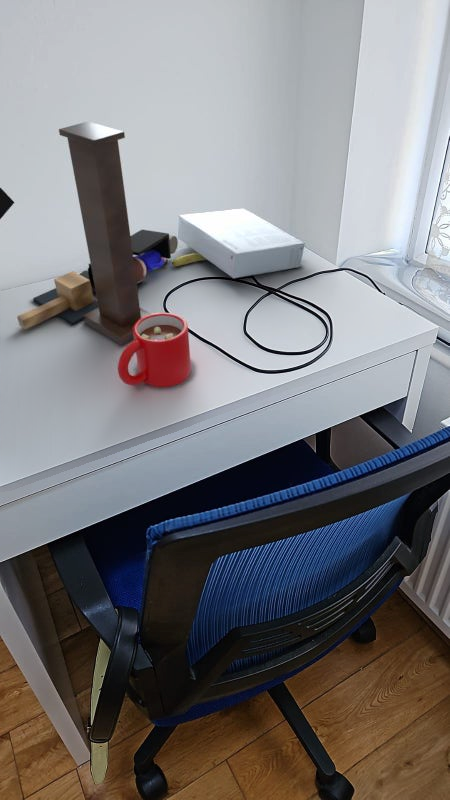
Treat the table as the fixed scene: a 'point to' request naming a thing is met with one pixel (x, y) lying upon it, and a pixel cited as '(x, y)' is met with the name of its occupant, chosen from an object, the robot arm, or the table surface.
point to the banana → (188, 259)
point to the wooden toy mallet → (61, 299)
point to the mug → (158, 351)
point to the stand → (105, 228)
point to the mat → (68, 314)
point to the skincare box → (240, 242)
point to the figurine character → (151, 250)
